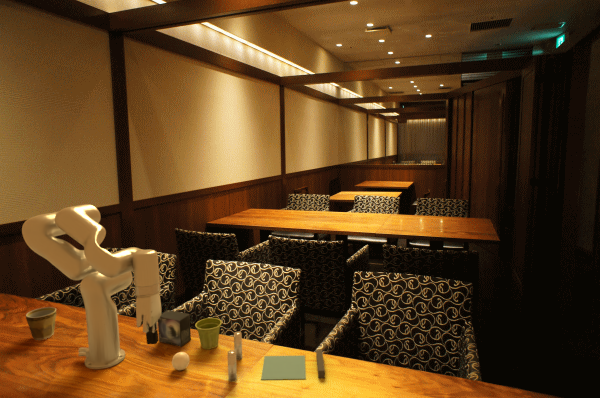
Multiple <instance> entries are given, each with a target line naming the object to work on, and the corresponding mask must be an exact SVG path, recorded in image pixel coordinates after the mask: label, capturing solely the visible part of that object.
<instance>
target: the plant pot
mask: <svg viewBox="0 0 600 398" xmlns="http://www.w3.org/2000/svg"><path fill="white" fill-rule="evenodd" d="M222 323H223V321H222V320H221V319H219V318H217V317H207V318H203V319H201V320H198V321H197V322H196V323H195V325H194V326H195V328H196V330H197V333H198V337H199V343H200V346H201V348H202V349H203V350H211V349H215V348H216V347H218V346H219V340H220V339H219V338H220V328H221V326H222Z"/></svg>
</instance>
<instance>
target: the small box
mask: <svg viewBox="0 0 600 398" xmlns="http://www.w3.org/2000/svg"><path fill="white" fill-rule="evenodd" d="M157 322H158V329H157V330H158V342H159V343H162V344H167V345H172V346H176V347H179V346H180V348H182V347H183V346H185V345H186V344H187V343H188V341H189V342H190V341H191V340H192V338H191V337H192V336H191V316H190V313H185V312H180V311H176V310H175V311H174V310H170V309H168V310H166V311H164V312H161V316H160V318H159V319H158V320H157Z"/></svg>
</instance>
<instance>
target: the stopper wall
mask: <svg viewBox="0 0 600 398" xmlns="http://www.w3.org/2000/svg"><path fill="white" fill-rule="evenodd" d="M315 353H316V354H315V355H316V358H315V359H316V365H317V376H318V379H325V378H326V375H325V373H326V369H325V361H324V353H323V350H322V349H316V352H315Z"/></svg>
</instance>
